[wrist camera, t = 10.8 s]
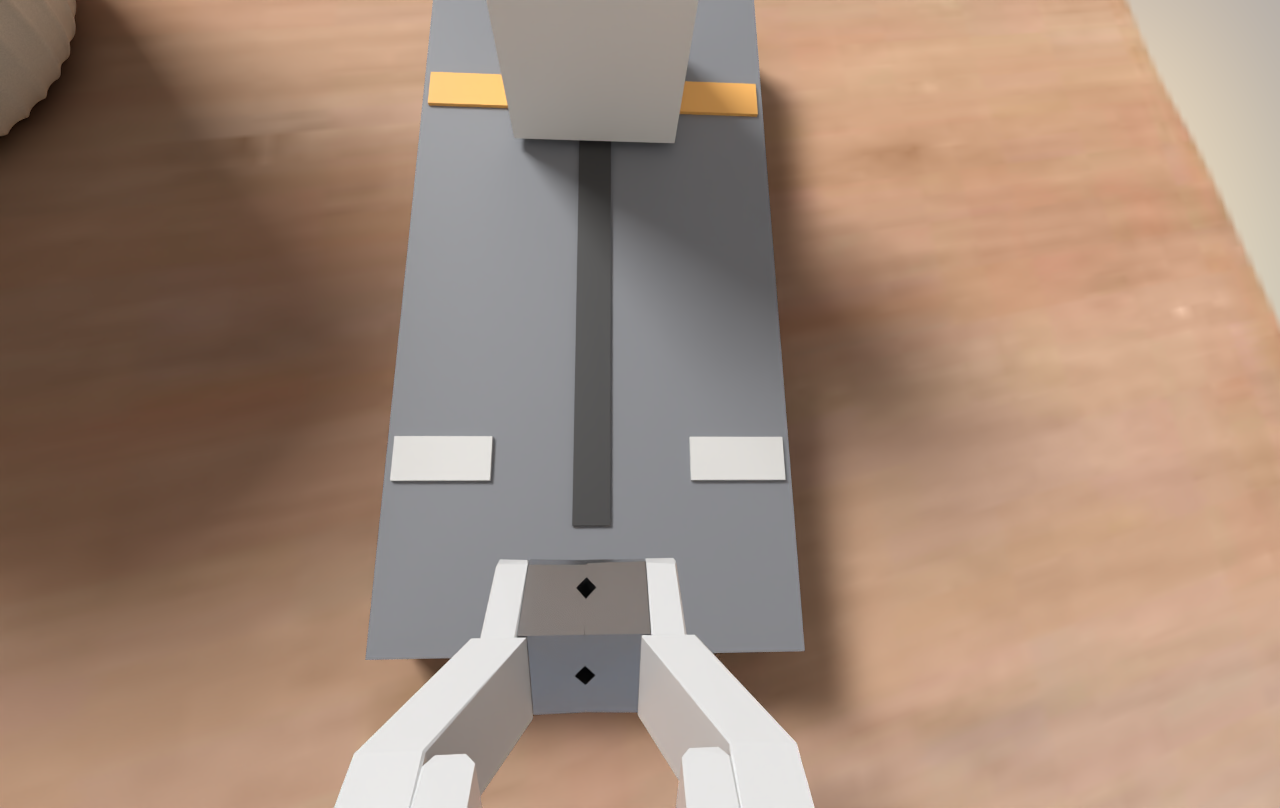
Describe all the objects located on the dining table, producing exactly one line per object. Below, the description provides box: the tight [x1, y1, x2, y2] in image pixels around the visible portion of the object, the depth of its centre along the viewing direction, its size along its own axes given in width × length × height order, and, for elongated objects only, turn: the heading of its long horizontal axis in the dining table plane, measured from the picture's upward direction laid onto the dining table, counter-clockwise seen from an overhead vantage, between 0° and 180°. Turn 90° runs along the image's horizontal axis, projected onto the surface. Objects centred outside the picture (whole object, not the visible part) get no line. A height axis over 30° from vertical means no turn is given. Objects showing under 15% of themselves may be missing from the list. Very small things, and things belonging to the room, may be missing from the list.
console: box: [365, 0, 805, 660], centre depth 19 cm, size 22×11×3 cm, turn 1°
